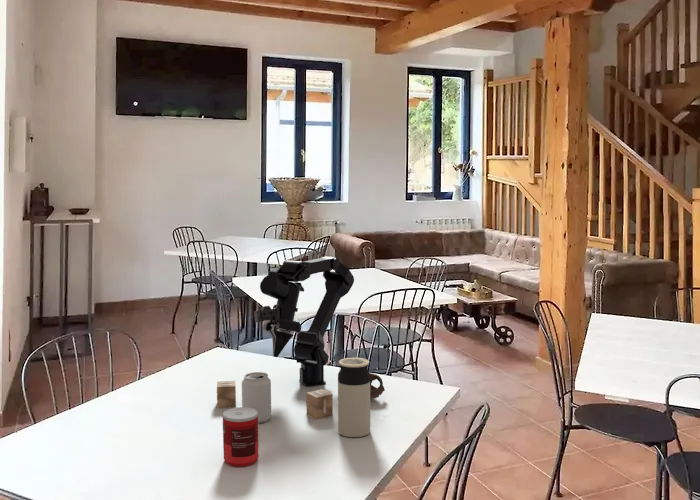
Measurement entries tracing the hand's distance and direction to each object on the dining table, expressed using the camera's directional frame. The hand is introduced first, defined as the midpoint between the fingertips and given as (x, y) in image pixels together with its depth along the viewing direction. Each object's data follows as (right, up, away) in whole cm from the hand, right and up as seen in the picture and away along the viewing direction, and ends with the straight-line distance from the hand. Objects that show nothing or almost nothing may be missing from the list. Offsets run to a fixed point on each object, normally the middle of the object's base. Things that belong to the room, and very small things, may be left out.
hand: (275, 356), depth 193 cm
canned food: (-3, -17, -40) cm, 44 cm away
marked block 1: (-13, -13, -3) cm, 19 cm away
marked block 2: (+13, -14, -11) cm, 22 cm away
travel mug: (+22, -15, -24) cm, 36 cm away
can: (-3, -14, -14) cm, 21 cm away
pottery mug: (+25, -12, +3) cm, 28 cm away
